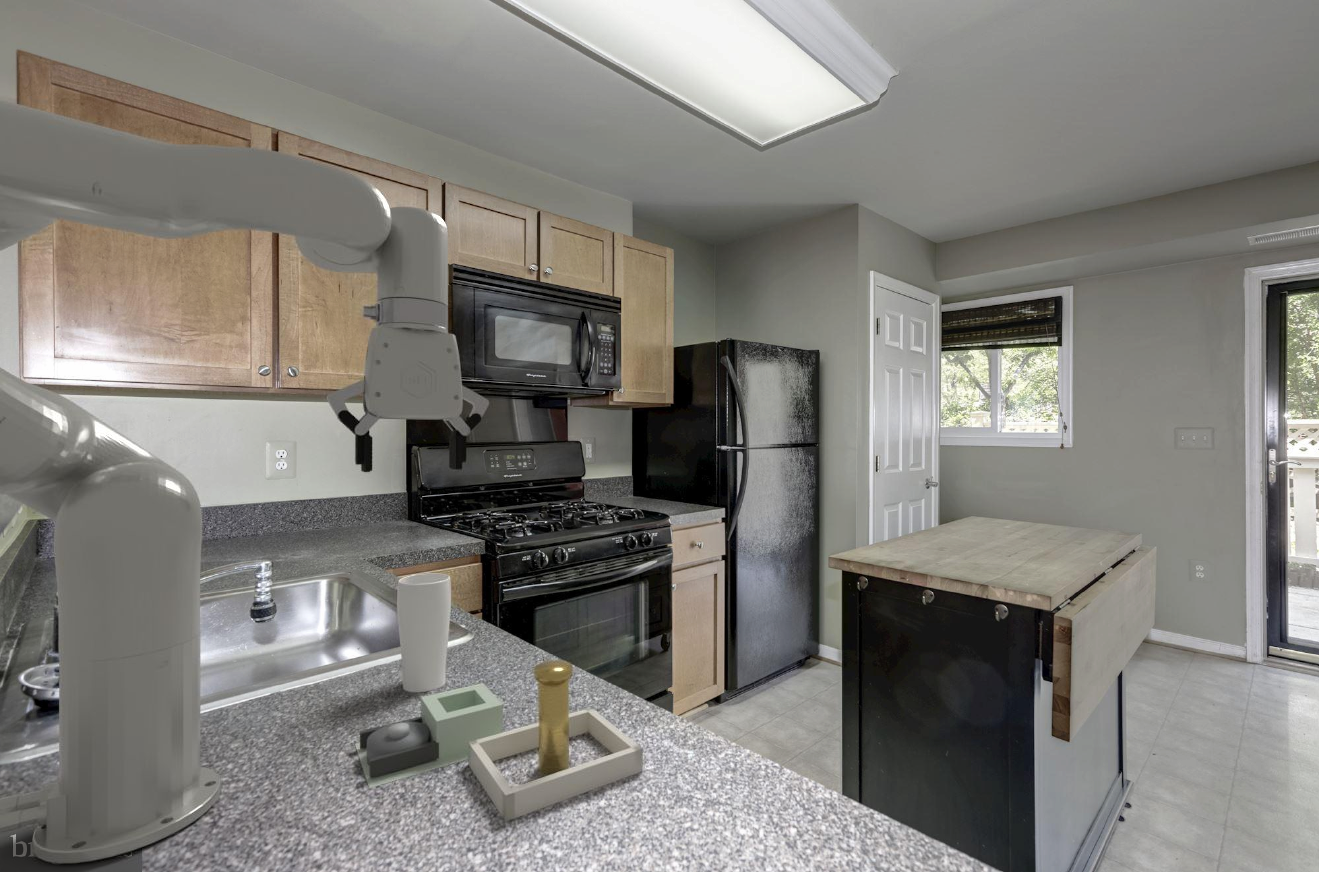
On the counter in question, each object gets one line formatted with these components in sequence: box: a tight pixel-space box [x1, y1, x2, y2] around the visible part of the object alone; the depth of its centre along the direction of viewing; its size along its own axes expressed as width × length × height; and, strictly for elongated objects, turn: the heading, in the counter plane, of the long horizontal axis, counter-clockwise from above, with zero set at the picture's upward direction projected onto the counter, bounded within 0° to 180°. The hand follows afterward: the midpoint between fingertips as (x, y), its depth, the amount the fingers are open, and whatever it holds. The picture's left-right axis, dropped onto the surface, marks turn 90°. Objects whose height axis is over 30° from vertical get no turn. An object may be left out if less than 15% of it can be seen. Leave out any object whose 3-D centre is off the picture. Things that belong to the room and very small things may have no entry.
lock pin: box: [533, 660, 574, 776], centre depth 60 cm, size 4×4×10 cm
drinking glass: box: [396, 572, 452, 693], centre depth 81 cm, size 7×7×15 cm
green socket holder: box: [354, 682, 504, 789], centre depth 65 cm, size 14×10×5 cm
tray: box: [467, 707, 644, 822], centre depth 60 cm, size 14×11×3 cm
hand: (412, 470), depth 69 cm, fingers open, 9 cm apart
